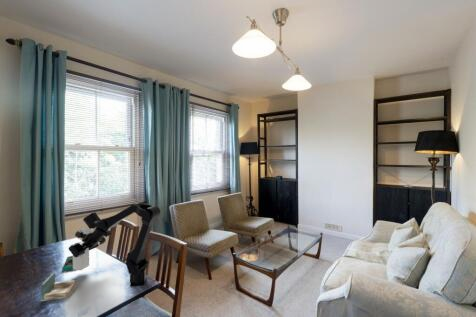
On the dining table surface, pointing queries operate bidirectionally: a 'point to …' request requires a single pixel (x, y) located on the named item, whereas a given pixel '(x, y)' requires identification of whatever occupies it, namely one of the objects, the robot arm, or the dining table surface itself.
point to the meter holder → (56, 288)
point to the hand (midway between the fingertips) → (78, 254)
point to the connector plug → (81, 260)
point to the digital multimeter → (68, 264)
